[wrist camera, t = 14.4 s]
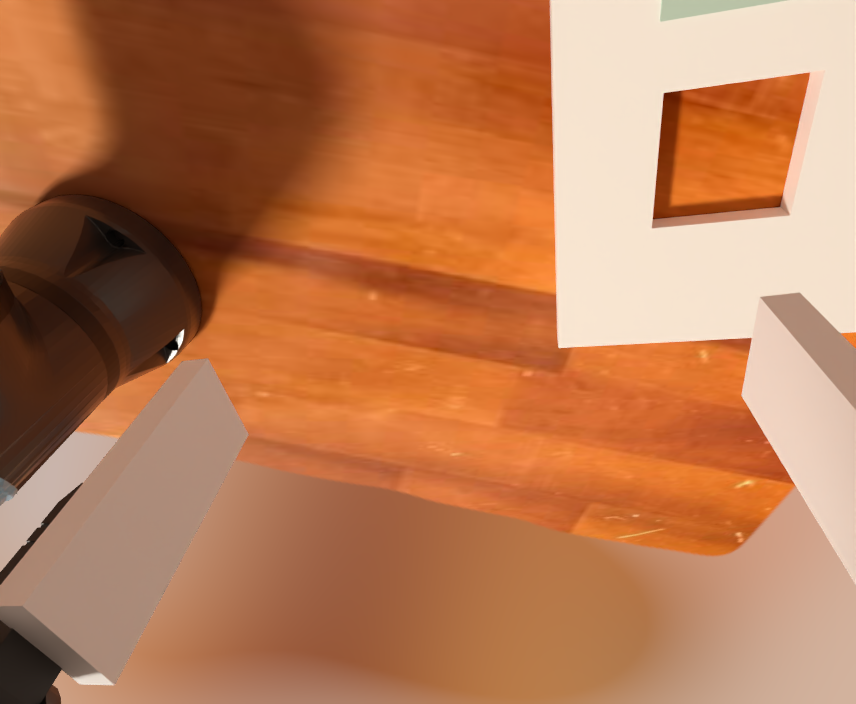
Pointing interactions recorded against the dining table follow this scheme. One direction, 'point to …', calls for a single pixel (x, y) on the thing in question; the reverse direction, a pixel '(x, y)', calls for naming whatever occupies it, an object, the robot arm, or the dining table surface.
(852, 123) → the hole board
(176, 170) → the dining table surface
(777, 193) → the dining table surface
